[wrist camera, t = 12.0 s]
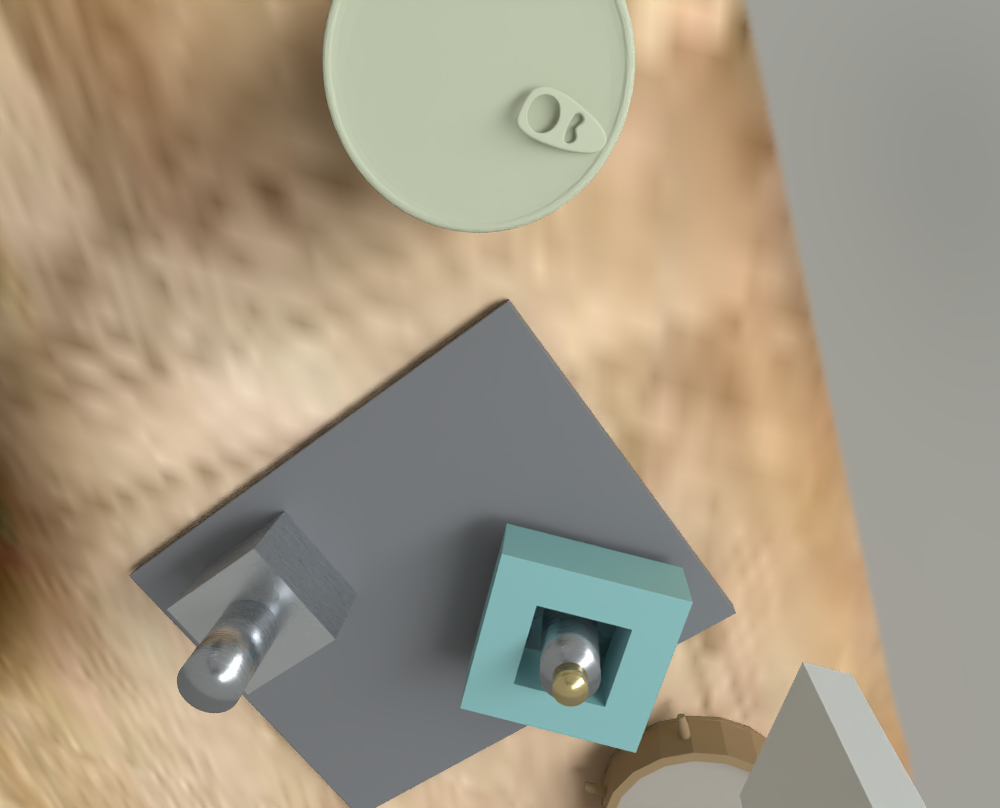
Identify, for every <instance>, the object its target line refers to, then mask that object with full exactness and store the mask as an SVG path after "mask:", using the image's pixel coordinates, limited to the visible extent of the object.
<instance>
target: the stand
mask: <svg viewBox="0 0 1000 808" xmlns="http://www.w3.org/2000/svg"><path fill="white" fill-rule="evenodd" d="M356 596H357V593H356V592H355V590H354V589H353V588H352V587H351V586H350V585H349V584H348V582H347V581H346V580H345V579H344V578H343V577H342V576H341V574H340V573H339V572H338V571H337V570H336V569H335V568H334V566H333V565H332V564H331V563H330V562H329V561H328V560H327V558H326V557H325V556H324V555H323V554H322V553H321V552H320V550H319V549H318V548H317V547H316V546H315V545H314V544H313V542H312V541H311V540H310V539H309V538H308V537H307V536H306V534H305V533H304V532H303V531H302V530H301V529H300V528H299V526H298V525H297V524H296V523H295V522H294V521H293V520H292V518H291V517H290V516H289V515H288V514H287V513H286V512H285V511H283V512H282V513H281V514H279V515H278V516H276V517H275V518H274V519H272V520H271V521H269V522H268V523H266V524H265V525H264V526H262V527H261V528H259V529H258V530H256V531H255V532H254V533H252V534H251V535H249V536H248V537H246V538H245V539H244V540H242V541H241V542H239V543H238V544H236V545H235V546H234V547H232V548H231V549H229V550H228V551H227V552H225V553H224V554H222V555H221V556H219V557H218V558H217V559H215V560H214V561H212V562H211V563H209V564H208V565H207V566H205V567H204V568H203V569H202V570H201V571H200V573H199V574H198V575H197V576H196V577H195V578H194V579H193V580H192V582H191V583H190V584H189V585H188V586H187V587H186V588H185V589H184V590H183V592H182V593H181V594H180V595H179V596H178V597H177V598H176V599H175V601H174V602H173V603H172V604H171V605H170V606H169V607H168V608H167V610H168V611H169V612H170V613H171V614H172V616H173V617H174V618H175V619H176V620H177V621H178V622H179V623H180V624H181V625H182V626H183V627H184V628H185V629H186V630H187V631H188V632H189V633H190V634H191V635H192V636H193V638H194V639H195V640H196V641H197V642H198V643H199V646H198V647H197V648H196V649H195V651H194V652H193V653H192V655H191V656H190V657H189V659H188V660H187V661H186V663H185V664H184V665H183V667H182V668H181V669H180V671H179V673H178V676H177V686H178V689H179V692H180V694H181V695H182V697H183V698H184V699H185V700H186V701H187V702H188V703H189V704H190V705H191V706H193V707H195V708H196V709H199V710H201V711H204V712H208V713H221V712H225V711H227V710H229V709H231V708H232V707H233V706H234V705H235V704H236V703H237V701H238V700H239V698H240V697H241V695H242V693H243V692H244V691H245V692H246V693H247V694H249V693H251V692H252V691H254V690H256V689H257V688H259V687H260V686H262V685H264V684H265V683H267V682H268V681H270V680H272V679H273V678H275V677H276V676H278V675H280V674H281V673H283V672H284V671H286V670H288V669H289V668H291V667H292V666H294V665H296V664H297V663H299V662H300V661H302V660H303V659H305V658H307V657H308V656H310V655H311V654H313V653H315V652H316V651H318V650H319V649H321V648H323V647H324V646H326V645H327V644H329V643H331V642H332V641H334V640H335V639H336V637H337V635H338V633H339V631H340V629H341V627H342V625H343V623H344V621H345V619H346V617H347V614H348V612H349V610H350V608H351V606H352V604H353V602H354V600H355V598H356Z"/></svg>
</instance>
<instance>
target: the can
mask: <svg viewBox="0 0 1000 808" xmlns="http://www.w3.org/2000/svg"><path fill="white" fill-rule="evenodd" d="M322 62H323V82H324V88H325V94H326V99H327V104H328V108H329V112H330V115H331V118H332V121H333V124H334V127H335V129H336V131H337V134H338V136H339V139H340V141H341V143H342V145H343V147H344V149H345V150H346V152H347V154H348V155H349V157H350V159H351V160H352V162H353V163H354V165H355V166H356V168H357V169H358V170H359V172H360V173H361V174H362V175H363V177H364V178H365V179H366V180H367V181H368V182H369V184H370V185H371V186H372V187H373V188H374V189H375V190H376V191H377V192H378V193H380V194H381V195H382V196H383V197H384V198H385V199H387V200H388V201H389V202H390V203H392V204H393V205H395V206H396V207H397V208H399V209H400V210H402V211H404V212H405V213H407V214H409V215H411V216H413V217H415V218H417V219H419V220H421V221H424V222H426V223H429V224H431V225H434V226H437V227H441V228H444V229H449V230H454V231H462V232H472V233H487V232H497V231H503V230H509V229H513V228H516V227H520V226H523V225H526V224H529V223H532V222H534V221H537V220H539V219H541V218H543V217H545V216H547V215H548V214H550V213H552V212H554V211H556V210H557V209H559V208H560V207H561V206H563V205H564V204H566V203H567V202H568V201H570V200H571V199H572V198H573V197H575V196H576V195H577V194H578V193H579V192H580V191H581V190H582V189H583V188H584V187H585V186H586V185H587V184H588V183H589V182H590V181H591V180H592V179H593V177H594V176H595V175H596V174H597V172H598V171H599V170H600V168H601V167H602V165H603V164H604V163H605V161H606V160H607V158H608V157H609V155H610V153H611V151H612V150H613V148H614V146H615V144H616V142H617V140H618V138H619V136H620V133H621V130H622V128H623V125H624V123H625V120H626V116H627V113H628V109H629V106H630V101H631V97H632V91H633V84H634V72H635V49H634V38H633V30H632V25H631V20H630V16H629V12H628V9H627V6H626V2H625V0H332V2H331V6H330V9H329V13H328V17H327V21H326V27H325V33H324V39H323V53H322Z"/></svg>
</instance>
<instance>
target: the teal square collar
mask: <svg viewBox="0 0 1000 808" xmlns="http://www.w3.org/2000/svg"><path fill="white" fill-rule="evenodd" d="M692 603H693V601H692V597H691V594H690V591H689V587H688V584H687V580H686V577H685V574H684V570H683V568H681V567H677V566H673V565H669V564H666V563H662V562H658V561H654V560H650V559H646V558H642V557H638V556H634V555H630V554H626V553H622V552H618V551H614V550H610V549H606V548H602V547H598V546H594V545H590V544H586V543H583V542H579V541H575V540H571V539H567V538H563V537H559V536H555V535H551V534H547V533H543V532H539V531H535V530H531V529H527V528H523V527H519V526H515V525H511V524H507V525H506V528H505V532H504V536H503V539H502V543H501V547H500V551H499V554H498V558H497V562H496V565H495V569H494V573H493V576H492V580H491V584H490V588H489V591H488V595H487V599H486V602H485V606H484V610H483V614H482V617H481V621H480V625H479V628H478V632H477V636H476V640H475V643H474V647H473V651H472V654H471V658H470V662H469V666H468V670H467V675H466V680H465V685H464V691H463V696H462V701H461V706H460V708H461V709H465V710H469V711H473V712H477V713H481V714H485V715H489V716H493V717H497V718H501V719H504V720H508V721H512V722H516V723H520V724H524V725H528V726H532V727H536V728H540V729H544V730H548V731H552V732H556V733H560V734H564V735H567V736H571V737H575V738H579V739H583V740H587V741H591V742H595V743H599V744H603V745H607V746H611V747H615V748H619V749H623V750H626V751H630V752H634V753H636V751H637V748H638V746H639V743H640V741H641V738H642V735H643V733H644V730H645V727H646V725H647V722H648V719H649V717H650V714H651V711H652V709H653V706H654V704H655V701H656V698H657V696H658V693H659V690H660V688H661V685H662V682H663V680H664V677H665V675H666V672H667V669H668V667H669V664H670V661H671V659H672V656H673V653H674V651H675V648H676V646H677V643H678V640H679V638H680V635H681V632H682V630H683V627H684V624H685V622H686V619H687V616H688V614H689V611H690V609H691V606H692ZM536 606H540V607H544V608H548V609H552V610H556V611H560V612H564V613H568V614H572V615H576V616H580V617H584V618H588V619H592V620H596V621H600V622H604V623H608V624H612V625H615V626H616V628H615V631H614V634H613V636H612V639H611V642H610V645H609V648H608V651H607V654H606V657H605V660H604V663H603V666H602V667H600V669H601V682H600V685H599V687H598V689H597V691H596V692H595V693H594V694H593V695H592V696H590V697H589V698H587V699H586V700H585V701H584V702H583V703H582V704H580V705H578V706H573V707H569V706H564V705H562V704H560V703H558V702H557V701H556V700H555V698H554V697H552V696H550V695H549V694H548V693H547V692H546V691H545V690H544V688H543V687H542V685H541V682H540V655H541V651H537V650H533V649H529V648H525V644H526V640H527V637H528V633H529V630H530V627H531V623H532V620H533V617H534V613H535V610H536Z"/></svg>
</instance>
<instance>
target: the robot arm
mask: <svg viewBox="0 0 1000 808" xmlns="http://www.w3.org/2000/svg"><path fill="white" fill-rule="evenodd" d="M739 796H740V799H741V803H742V806H743V808H926V806H925V804H924V802H923V801H922V799H921V797H920V795H919V793H918V792H917V790H916V788H915V786H914V784H913V783H912V781H911V779H910V777H909V776H908V774H907V772H906V770H905V768H904V767H903V765H902V763H901V761H900V760H899V758H898V756H897V754H896V752H895V751H894V749H893V747H892V745H891V744H890V742H889V740H888V738H887V736H886V735H885V733H884V731H883V729H882V727H881V726H880V724H879V722H878V720H877V719H876V717H875V715H874V713H873V711H872V710H871V708H870V706H869V704H868V703H867V701H866V699H865V697H864V695H863V694H862V692H861V690H860V688H859V687H858V685H857V683H856V681H855V679H854V678H853V676H852V674H848V673H844V672H840V671H836V670H832V669H828V668H824V667H820V666H816V665H812V664H808V663H804V662H803V663H802V665H801V667H800V669H799V671H798V673H797V675H796V678H795V680H794V682H793V684H792V686H791V688H790V690H789V692H788V694H787V696H786V699H785V701H784V703H783V705H782V707H781V709H780V711H779V713H778V715H777V718H776V720H775V722H774V724H773V726H772V728H771V730H770V732H769V734H768V736H767V739H766V741H765V743H764V745H763V747H762V749H761V751H760V753H759V755H758V758H757V760H756V762H755V764H754V766H753V768H752V770H751V772H750V774H749V776H748V779H747V781H746V783H745V785H744V787H743V789H742V791H741V793H740V795H739Z"/></svg>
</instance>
